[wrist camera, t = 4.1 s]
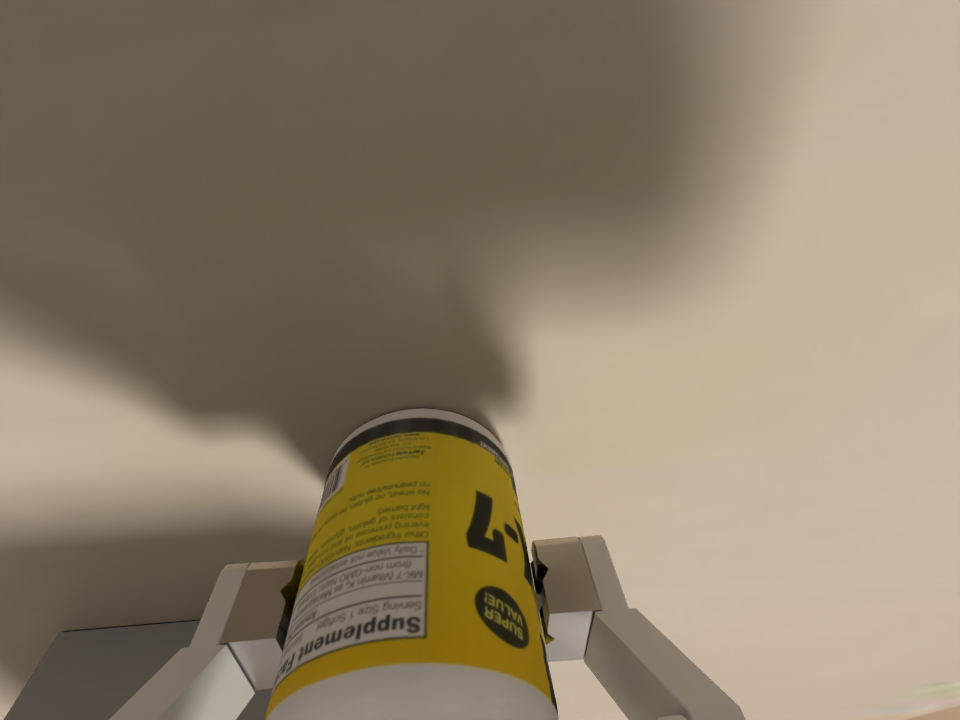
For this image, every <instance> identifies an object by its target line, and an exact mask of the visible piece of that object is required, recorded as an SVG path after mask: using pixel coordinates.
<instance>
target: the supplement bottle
mask: <svg viewBox="0 0 960 720" xmlns="http://www.w3.org/2000/svg"><path fill="white" fill-rule="evenodd" d="M265 720H558V710H557V704H556V699H555V695H554V690H553V684H552V679H551V675H550V670H549V666H548V661H547V654H546V648H545V643H544V638H543V633H542V627H541V621H540V616H539V611H538V606H537V600H536V596H535V590H534V584H533V578H532V572H531V568H530V563H529V557H528V552H527V546H526V541H525V536H524V531H523V525H522V519H521V515H520V509H519V504H518V497H517V492H516V487H515V481H514V476H513V472H512V468H511V464H510V461H509V458H508V456H507V454H506V452H505V450H504V448H503V447H502V446H501V444H500V443H499V442H498V440H497V439H496V438H495V437H494V436H493V435H492V434H491V433H490V432H489V431H488V430H487V429H485V428H484V427H483V426H481V425H480V424H478V423H477V422H475V421H473V420H471V419H469V418H467V417H465V416H462V415H459V414H457V413H453V412H449V411H444V410H438V409H407V410H401V411H397V412H392V413H389V414H386V415H383V416H381V417H378V418H376V419H373V420H371V421H370V422H368V423H366V424H364V425H362V426H361V427H359V428H358V429H356V430H355V431H354V432H352V433H351V434H350V435H349V436H348V437H347V438H346V439H345V440H344V441H343V442H342V444H341V445H340V446H339V448H338V449H337V451H336V453H335V455H334V457H333V459H332V462H331V465H330V469H329V473H328V476H327V479H326V482H325V487H324V492H323V495H322V499H321V503H320V507H319V511H318V514H317V518H316V522H315V526H314V530H313V534H312V538H311V542H310V546H309V550H308V553H307V557H306V561H305V565H304V569H303V574H302V577H301V581H300V585H299V588H298V592H297V596H296V600H295V604H294V608H293V612H292V616H291V620H290V624H289V628H288V632H287V636H286V640H285V644H284V648H283V652H282V656H281V659H280V663H279V667H278V670H277V674H276V679H275V683H274V687H273V691H272V694H271V698H270V702H269V706H268V709H267V713H266V717H265Z"/></svg>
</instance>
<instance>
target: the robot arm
mask: <svg viewBox="0 0 960 720" xmlns="http://www.w3.org/2000/svg"><path fill="white" fill-rule="evenodd" d="M531 551H532V557H533V561H532V562H531V563H530V568H531V572H532V578H533V584H534V590H535V596H536V600H537V606H538V611H539V616H540V621H541V627H542V633H543V638H544V643H545V648H546V654H547V661H548V662H551V661H566V660H582V659H585V660H584V662H585V663H586V665H587V666H588V667H589V669H590V670H591V671H592V672H593V674H594V675H595V676H596V678H597V679H598V680H599V682H600V683H601V684H602V685H603V687H604V688H605V689H606V691H607V692H608V693H609V694H610V696H611V697H612V698H613V700H614V701H615V702H616V704H617V705H618V706H619V707H620V709H621V710H622V711H623V713H624V714H625V715H626V717H627V718H628V719H629V720H746V719H745V717H744V715H743V713H742V711H741V709H740V707H739V706H738V705H737V704H736V703H735V702H734V701H733V700H732V699H731V698H730V697H729V696H728V695H727V694H726V693H724V692H723V691H722V690H721V689H720V688H719V687H718V686H717V685H716V684H715V683H714V682H713V681H712V680H711V679H710V678H709V677H708V676H707V675H706V674H704V673H703V672H702V671H701V670H700V669H699V668H698V667H697V666H696V665H695V664H694V663H693V662H692V661H691V660H690V659H689V658H688V657H687V656H686V655H684V654H683V653H682V652H681V651H680V650H679V649H678V648H677V647H676V646H675V645H674V644H673V643H672V642H671V641H670V640H669V639H668V638H667V637H666V636H665V635H663V634H662V633H661V632H660V631H659V630H658V629H657V628H656V627H655V626H654V625H653V624H652V623H651V622H650V621H649V620H648V619H647V618H646V617H645V616H643V615H642V614H641V613H640V612H639V611H638V610H637V609H636V608H631V609H629V607H628V605H627V602H626V599H625V596H624V593H623V590H622V588H621V585H620V582H619V579H618V576H617V574H616V571H615V568H614V565H613V562H612V559H611V557H610V554H609V551H608V548H607V545H606V542H605V540H604V539H603V537H602V536H600V535H595V536H585V537H567V538H556V539H546V540H535V541H533V542H532V550H531ZM304 565H305V564H304V561H303V559H302V560H287V561H272V562H257V563H253V562H252V563H240V564H227V565H226V566H225V567H224V569H223V570H222V571H221V573H220V574H219V577H218V579H217V581H216V584H215V586H214V589H213V591H212V593H211V596H210V598H209V601H208V603H207V606H206V608H205V610H204V613H203V615H202V618H201V620H200V622H199V625H198V627H197V630H196V632H195V634H194V637H193V639H192V642H191V644H190V646H189V647H188V648H181V649H180V650H179V651H178V652H177V653H176V654H175V655H174V656H173V657H172V658H171V659H170V660H169V661H168V662H167V663H166V664H165V665H164V666H163V667H162V668H161V669H160V670H159V671H158V672H157V673H156V674H155V675H154V676H153V677H152V678H151V679H150V680H149V681H148V682H147V683H146V684H145V685H144V686H143V687H142V688H141V689H140V690H139V691H137V692H136V693H135V694H134V695H133V696H132V697H131V698H130V699H129V700H128V701H127V702H126V703H125V704H124V705H123V706H122V707H121V708H120V709H119V710H118V711H117V712H116V713H115V714H114V715H113V716H112V717H111V718H110V719H109V720H236V719H237V717H238V716H239V715H240V713H241V712H242V711H243V709H244V708H245V706H246V705H247V704H248V702H249V701H250V700H251V698H252V697H253V695H254V694H255V692H254V690H262V689H270V688H273V687H274V683H275V679H276V674H277V670H278V667H279V663H280V659H281V656H282V652H283V648H284V644H285V640H286V636H287V632H288V628H289V624H290V620H291V616H292V612H293V608H294V604H295V600H296V596H297V592H298V588H299V585H300V581H301V577H302V574H303V569H304Z"/></svg>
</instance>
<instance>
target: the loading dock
mask: <svg viewBox="0 0 960 720" xmlns="http://www.w3.org/2000/svg"><path fill="white" fill-rule="evenodd" d="M199 622H200V621H188V622H177V623H165V624H154V625H142V626H130V627H119V628H107V629H95V630H84V631H72V632H61V633H59V635H58V636H57V638H56V639H55V641H54V642H53V644H52V645H51V647H50V649H49V650H48V652H47V653H46V655H45V656H44V658H43V659H42V661H41V662H40V664H39V666H38V667H37V669H36V670H35V672H34V673H33V675H32V676H31V678H30V680H29V681H28V683H27V684H26V686H25V687H24V689H23V690H22V692H21V694H20V695H19V697H18V698H17V700H16V701H15V703H14V704H13V706H12V708H11V709H10V711H9V712H8V714H7V715H6V717H5V718H4V720H109V719H110V718H111V717H112V716H113V715H114V714H115V713H116V712H117V711H118V710H119V709H120V708H121V707H122V706H123V705H124V704H125V703H126V702H127V701H128V700H129V699H130V698H131V697H132V696H133V695H134V694H135V693H136V692H137V691H139V690H140V689H141V688H142V687H143V686H144V685H145V684H146V683H147V682H148V681H149V680H150V679H151V678H152V677H153V676H154V675H155V674H156V673H157V672H158V671H159V670H160V669H161V668H162V667H163V666H164V665H165V664H166V663H167V662H168V661H169V660H170V659H171V658H172V657H173V656H174V655H175V654H176V653H177V652H178V651H179V650H180V649H181V648H188V647H189V646H190V644H191V642H192V639H193V637H194V634H195V632H196V630H197V627H198V625H199ZM272 691H273V688H270V689H262V690H254V692H255V694H254V695H253V697H252V698H251V700H250V701H249V702H248V704H247V705H246V706H245V708H244V709H243V711H242V712H241V713H240V715H239V716H238V717H237V719H236V720H265V717H266V713H267V709H268V706H269V702H270V698H271V694H272Z"/></svg>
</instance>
